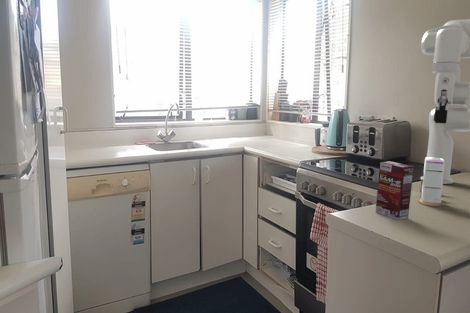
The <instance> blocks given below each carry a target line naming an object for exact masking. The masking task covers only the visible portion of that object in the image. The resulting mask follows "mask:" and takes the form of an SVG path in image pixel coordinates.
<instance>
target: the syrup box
mask: <svg viewBox="0 0 470 313" xmlns="http://www.w3.org/2000/svg"><path fill="white" fill-rule="evenodd" d="M444 164H445V161H444V160H443V158H436V157H427V156H426V157H424V166H423V175H422V176H423V184H422V195H421V194H420V198H422V201H424V202H431V203H441V201H442V194H443V187H444V186H443V185H444V184H443V175H444Z"/></svg>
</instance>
